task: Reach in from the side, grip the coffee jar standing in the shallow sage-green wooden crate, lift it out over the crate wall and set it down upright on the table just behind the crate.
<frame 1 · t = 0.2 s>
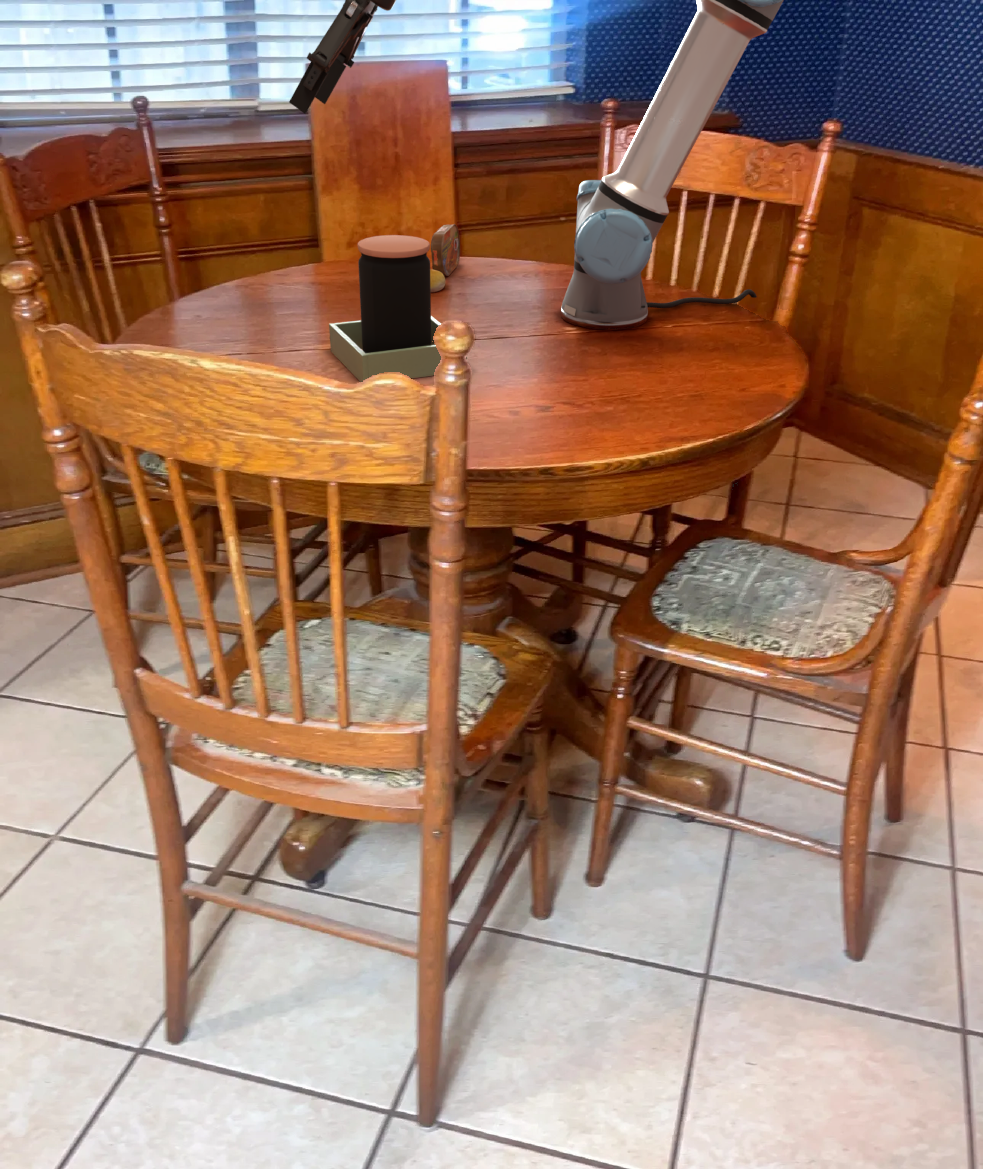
hand: (307, 103, 157), 35 cm above the table, tool tilted 35°, fingers open, 13 cm apart
coffee jar: (397, 362, 162), resting in crate
tin: (445, 271, 210), on the table
bread roll: (422, 288, 199), on the table
crate: (397, 361, 162), on the table
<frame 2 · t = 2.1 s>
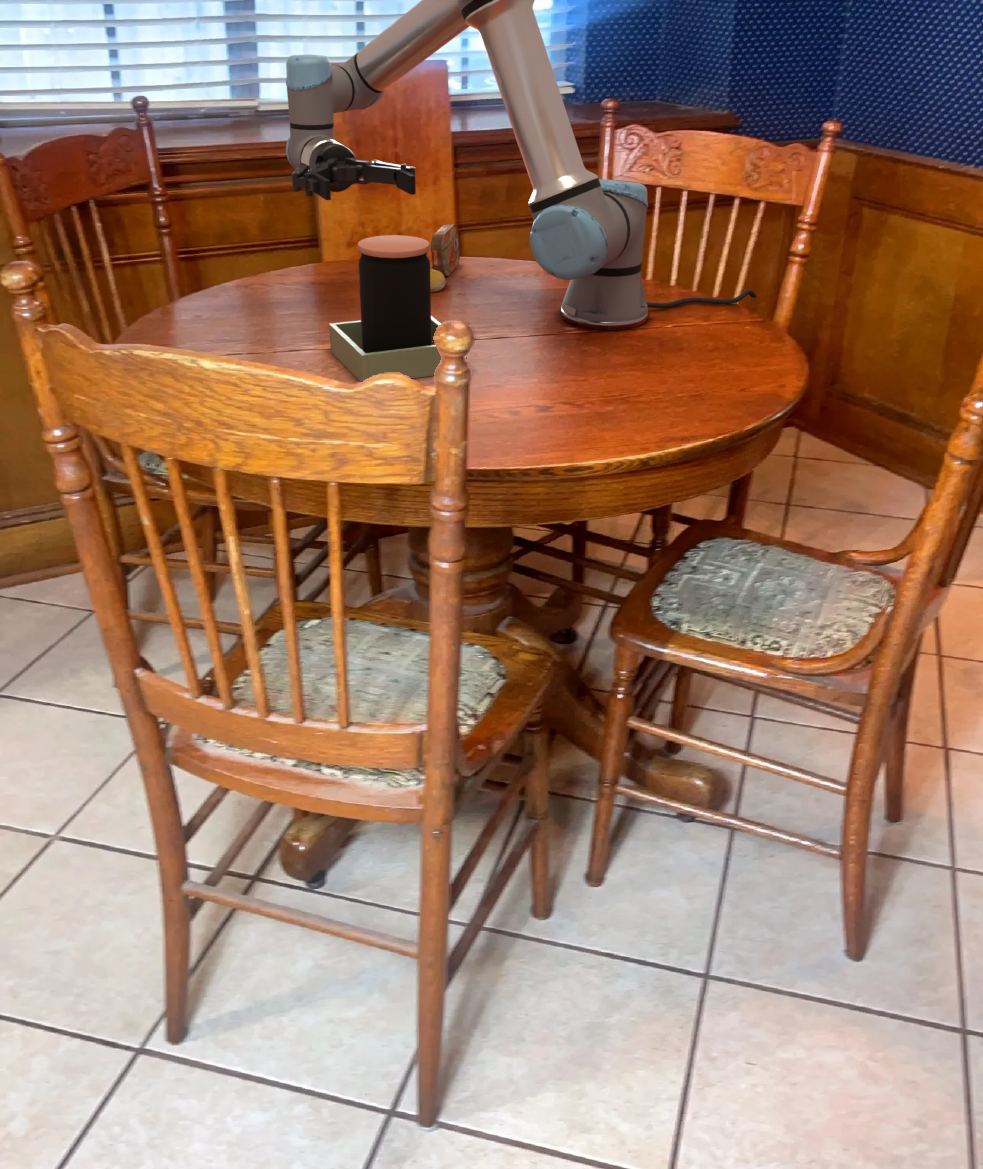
hand: (371, 188, 157), 24 cm above the table, tool horizontal, fingers open, 13 cm apart
nothing on the table moved.
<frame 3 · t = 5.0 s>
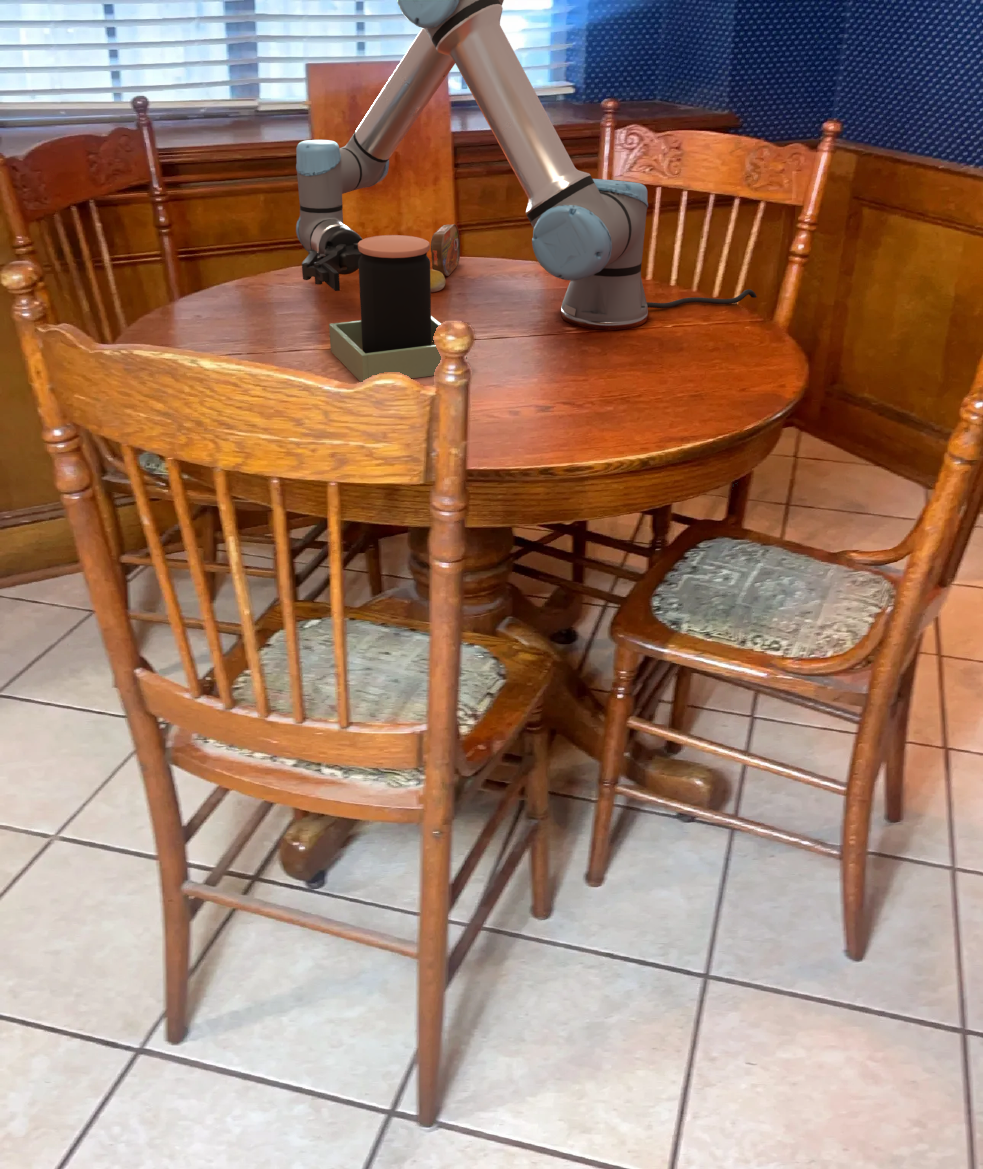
hand: (379, 278, 162), 11 cm above the table, tool horizontal, fingers open, 13 cm apart
nothing on the table moved.
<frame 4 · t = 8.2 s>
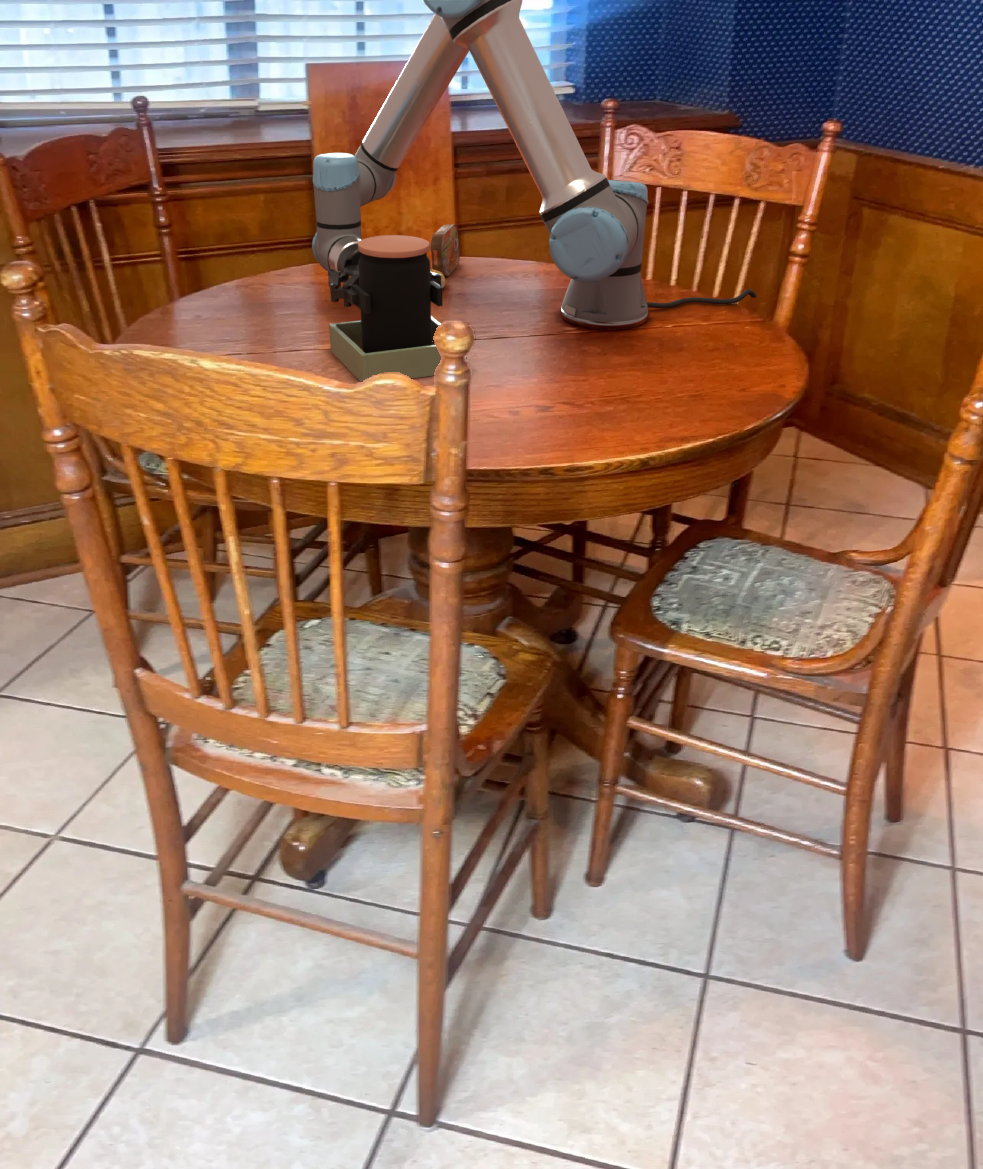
hand: (404, 301, 154), 10 cm above the table, tool horizontal, fingers closed on coffee jar, 11 cm apart
coffee jar: (397, 362, 162), resting in crate, touching gripper
everything else where it was.
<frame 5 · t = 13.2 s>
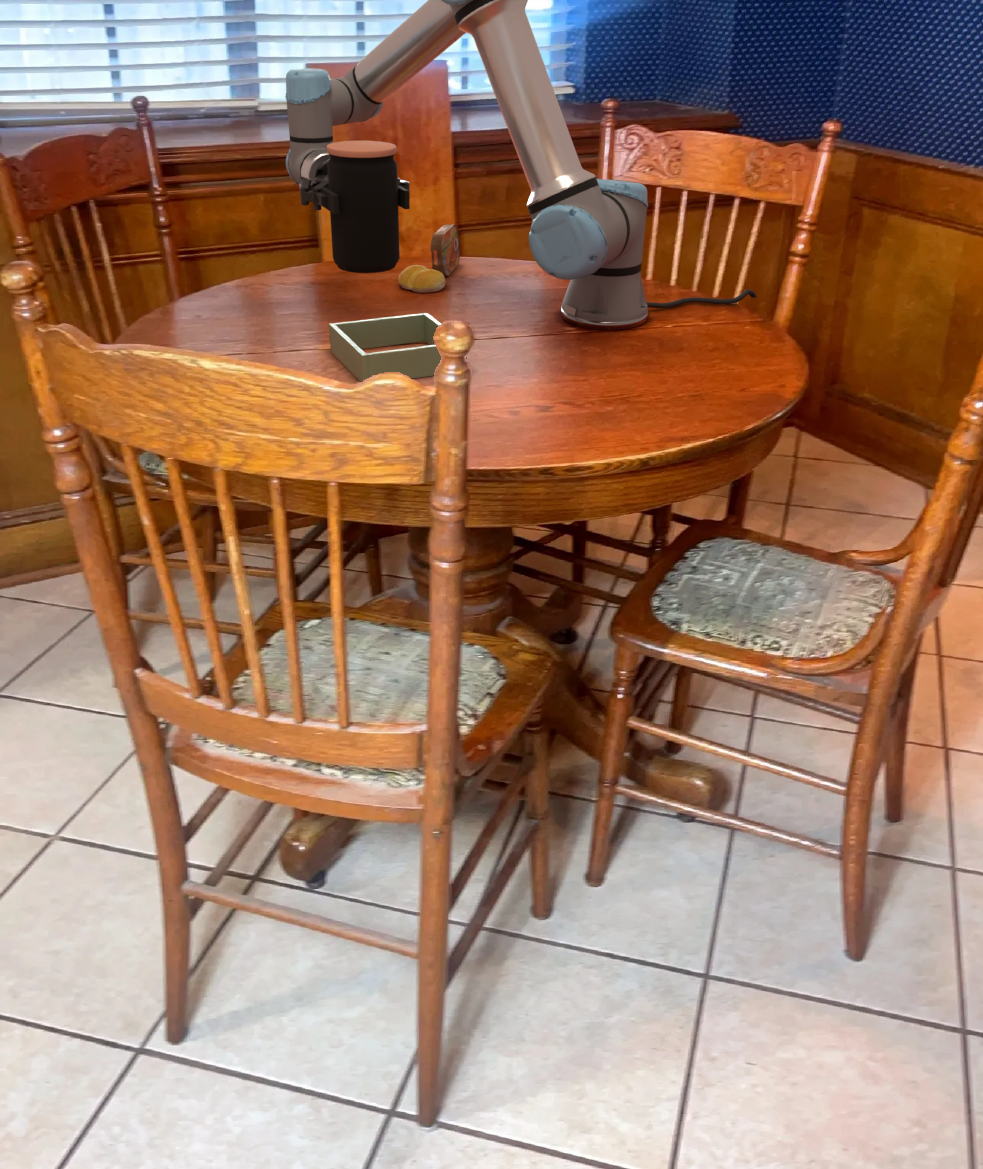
hand: (372, 202, 158), 22 cm above the table, tool horizontal, fingers closed on coffee jar, 11 cm apart
coffee jar: (366, 267, 167), point 11 cm above the table, touching gripper
everything else where it was.
when the fingers open (10 cm above the table, at t = 18.1 s): coffee jar stays where it is, on the table.
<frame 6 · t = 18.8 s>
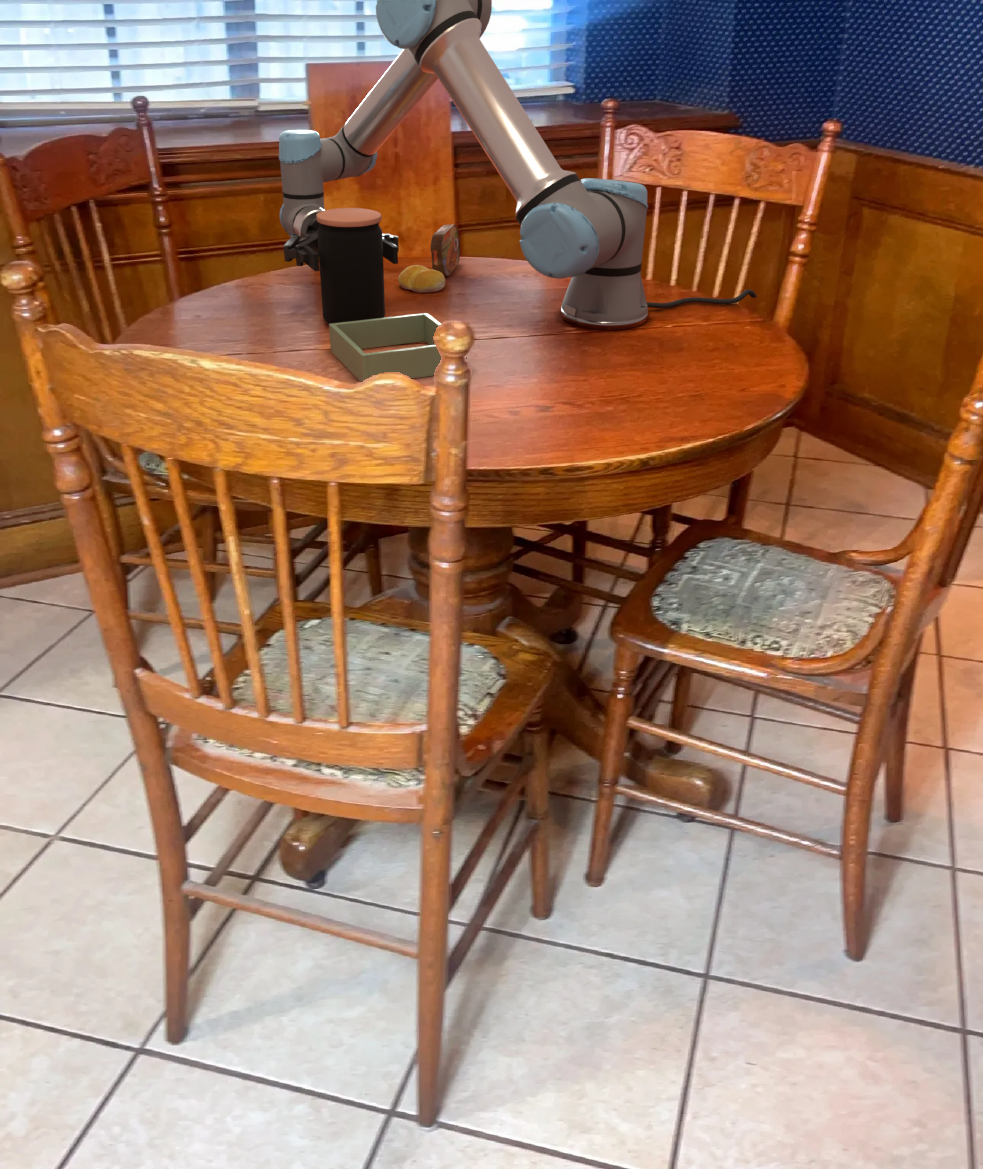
hand: (356, 259, 171), 11 cm above the table, tool horizontal, fingers open, 13 cm apart
coffee jar: (354, 323, 179), on the table
everything else where it was.
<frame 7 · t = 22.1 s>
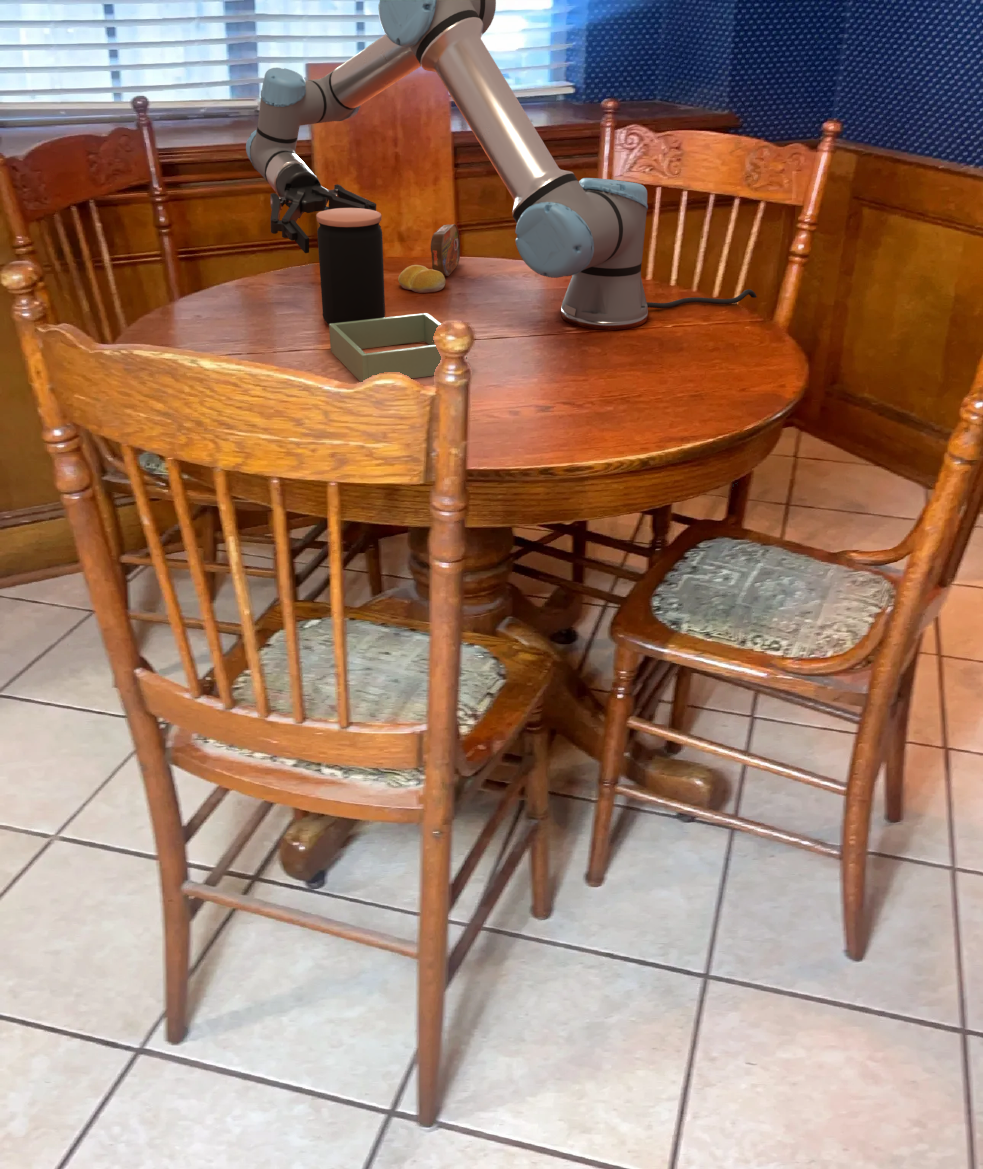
hand: (343, 240, 180), 12 cm above the table, tool tilted 75°, fingers open, 13 cm apart
nothing on the table moved.
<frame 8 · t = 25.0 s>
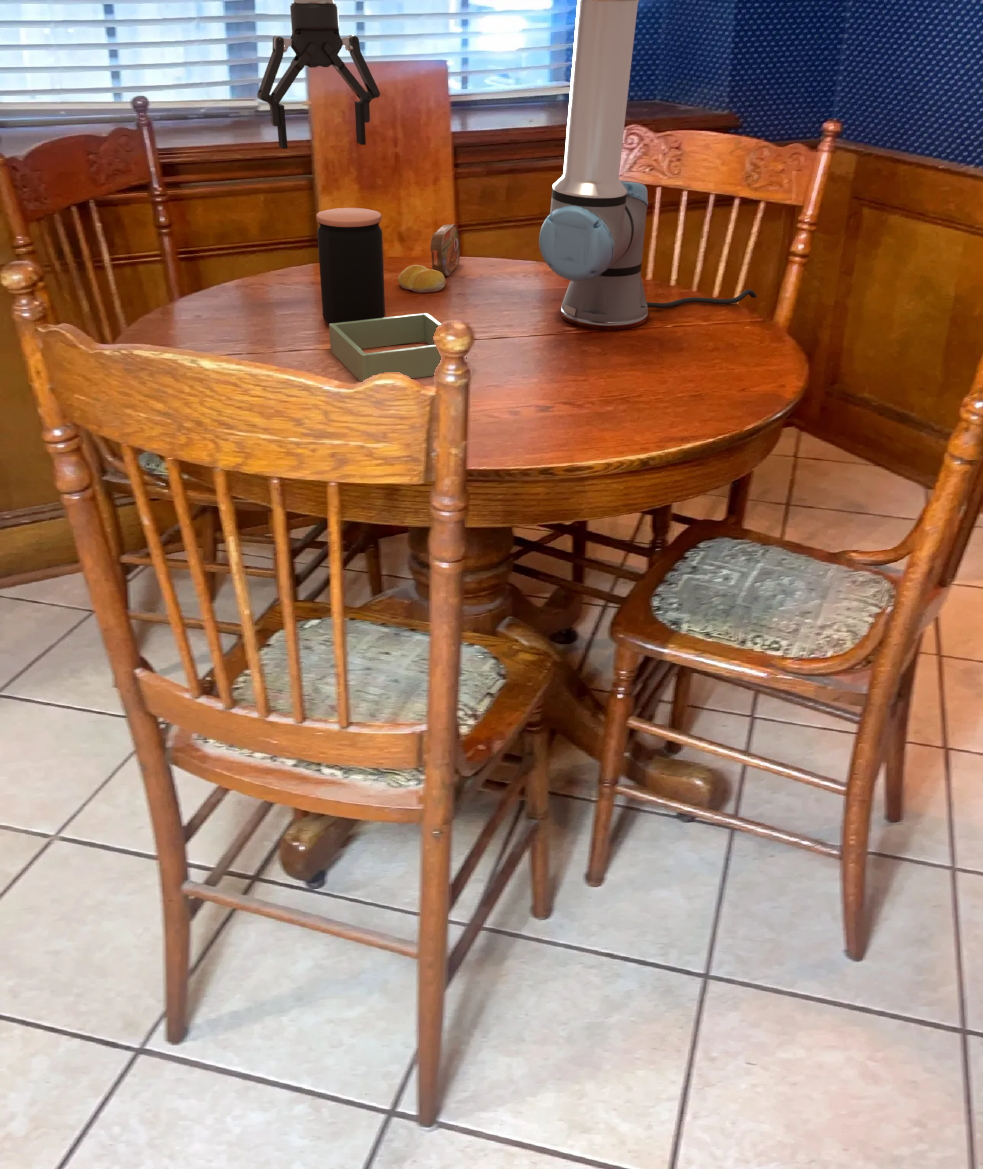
hand: (322, 146, 175), 27 cm above the table, tool pointing down, fingers open, 13 cm apart
nothing on the table moved.
at the end: coffee jar inside the target area (0.0 cm from its centre), on the table; coffee jar tilted 0°; the gripper is holding nothing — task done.
